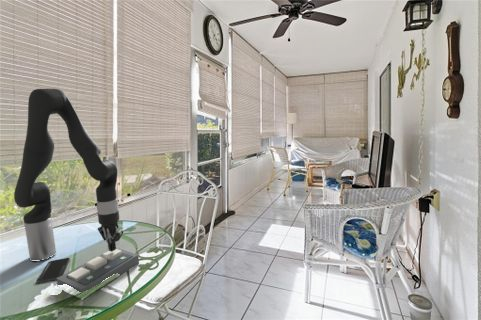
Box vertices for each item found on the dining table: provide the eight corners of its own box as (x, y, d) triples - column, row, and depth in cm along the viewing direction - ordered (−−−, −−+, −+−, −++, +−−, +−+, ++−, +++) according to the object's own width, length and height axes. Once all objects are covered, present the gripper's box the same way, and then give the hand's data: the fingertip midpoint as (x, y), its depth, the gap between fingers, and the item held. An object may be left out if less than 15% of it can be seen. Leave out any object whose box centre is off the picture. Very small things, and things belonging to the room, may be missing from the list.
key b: (87, 268, 99) (86, 262, 98) (99, 261, 103) (98, 256, 103) (95, 271, 96) (94, 265, 96) (107, 264, 101) (106, 259, 100)
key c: (103, 259, 105) (103, 253, 104) (114, 253, 109) (113, 248, 109) (111, 262, 103) (111, 256, 102) (122, 256, 107) (121, 250, 107)
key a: (68, 280, 93) (67, 274, 92) (82, 273, 97) (81, 267, 97) (77, 284, 90) (76, 278, 90) (90, 276, 95) (90, 270, 94)
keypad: (57, 288, 92) (56, 277, 91) (116, 255, 113) (115, 246, 112) (82, 300, 86) (81, 288, 85) (139, 263, 107) (138, 253, 106)
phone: (35, 282, 94) (48, 261, 108) (36, 285, 95) (49, 263, 108) (60, 277, 97) (70, 257, 111) (61, 279, 97) (71, 259, 111)
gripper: (88, 211, 102) (93, 251, 105) (110, 216, 96) (115, 258, 99) (105, 205, 109) (109, 243, 111) (127, 209, 103) (131, 249, 106)
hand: (112, 250), depth 105 cm, fingers closed
